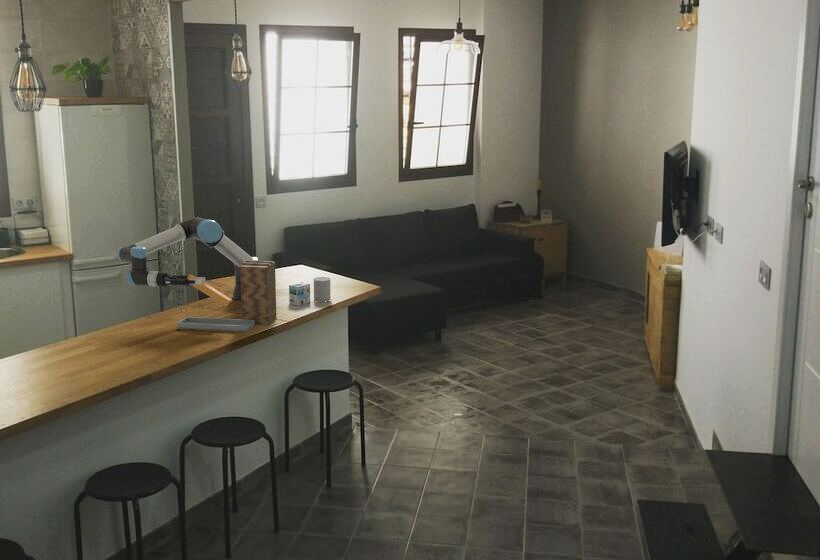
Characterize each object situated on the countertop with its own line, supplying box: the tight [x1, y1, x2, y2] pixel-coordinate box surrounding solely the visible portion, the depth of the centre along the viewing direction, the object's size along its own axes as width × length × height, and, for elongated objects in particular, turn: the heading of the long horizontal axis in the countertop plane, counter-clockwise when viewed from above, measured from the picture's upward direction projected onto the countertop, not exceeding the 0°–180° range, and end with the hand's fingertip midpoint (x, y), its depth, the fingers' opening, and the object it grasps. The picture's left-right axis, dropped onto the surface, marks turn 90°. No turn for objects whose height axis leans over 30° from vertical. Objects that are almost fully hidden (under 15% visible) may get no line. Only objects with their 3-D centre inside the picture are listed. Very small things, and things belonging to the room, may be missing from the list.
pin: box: [187, 273, 233, 308], centre depth 433 cm, size 24×4×4 cm
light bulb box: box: [288, 281, 311, 306], centre depth 485 cm, size 11×7×11 cm, turn 143°
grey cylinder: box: [312, 276, 332, 303], centre depth 492 cm, size 10×10×12 cm
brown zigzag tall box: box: [240, 260, 277, 326], centre depth 446 cm, size 14×14×31 cm
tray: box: [176, 316, 256, 333], centre depth 437 cm, size 36×12×3 cm, turn 82°
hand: (203, 281), depth 432 cm, fingers closed on pin, 3 cm apart
